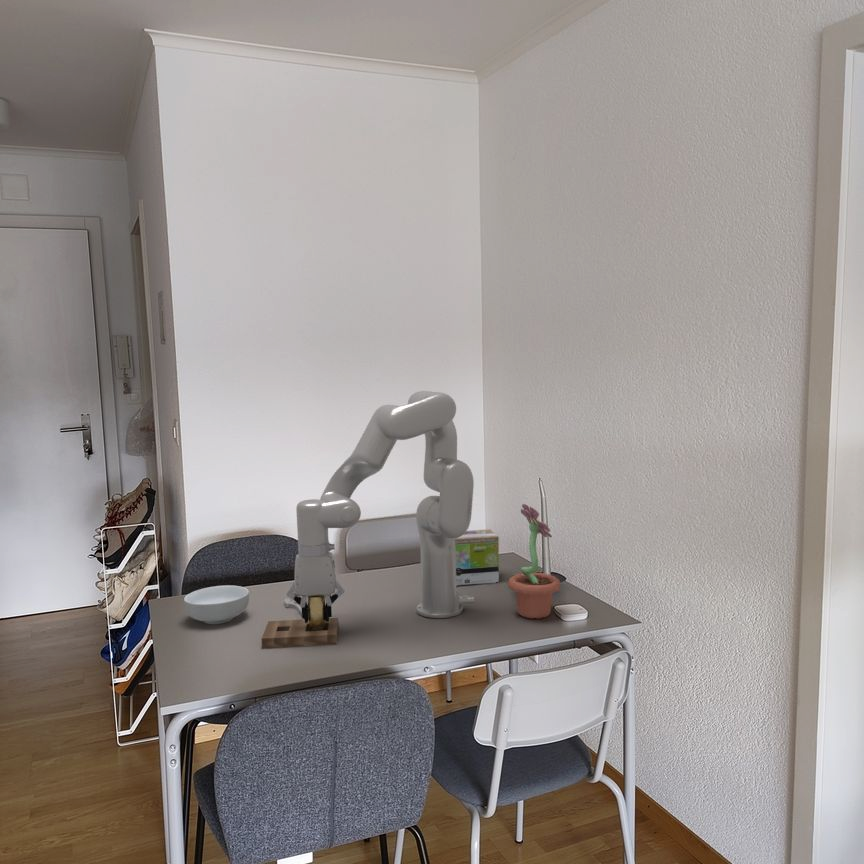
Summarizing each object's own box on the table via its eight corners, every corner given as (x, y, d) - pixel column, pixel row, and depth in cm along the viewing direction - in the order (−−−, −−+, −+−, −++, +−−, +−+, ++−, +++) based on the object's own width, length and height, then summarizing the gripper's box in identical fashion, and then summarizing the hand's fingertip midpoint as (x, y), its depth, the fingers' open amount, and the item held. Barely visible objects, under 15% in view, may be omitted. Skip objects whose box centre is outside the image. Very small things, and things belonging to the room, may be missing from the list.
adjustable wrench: (322, 629, 202) (322, 622, 202) (297, 633, 200) (297, 626, 200) (304, 599, 225) (303, 594, 225) (282, 603, 223) (281, 597, 223)
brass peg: (326, 630, 198) (325, 592, 196) (325, 636, 193) (324, 597, 192) (310, 631, 197) (308, 593, 196) (308, 637, 193) (307, 598, 192)
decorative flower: (572, 620, 201) (571, 507, 198) (523, 627, 197) (521, 512, 194) (546, 602, 215) (545, 496, 212) (500, 609, 211) (498, 501, 208)
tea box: (451, 587, 232) (450, 539, 230) (444, 577, 242) (442, 531, 240) (499, 583, 235) (498, 535, 233) (490, 573, 244) (489, 527, 243)
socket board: (338, 626, 202) (338, 617, 201) (336, 644, 190) (336, 634, 190) (268, 630, 200) (268, 621, 200) (262, 648, 189) (261, 638, 188)
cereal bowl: (250, 606, 220) (248, 581, 220) (250, 626, 204) (249, 600, 203) (187, 612, 216) (185, 588, 216) (183, 633, 200) (181, 607, 200)
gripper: (348, 544, 197) (351, 613, 199) (281, 547, 196) (284, 617, 198) (347, 551, 190) (350, 624, 192) (277, 555, 189) (281, 627, 191)
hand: (317, 619), depth 195 cm, fingers open, 4 cm apart
